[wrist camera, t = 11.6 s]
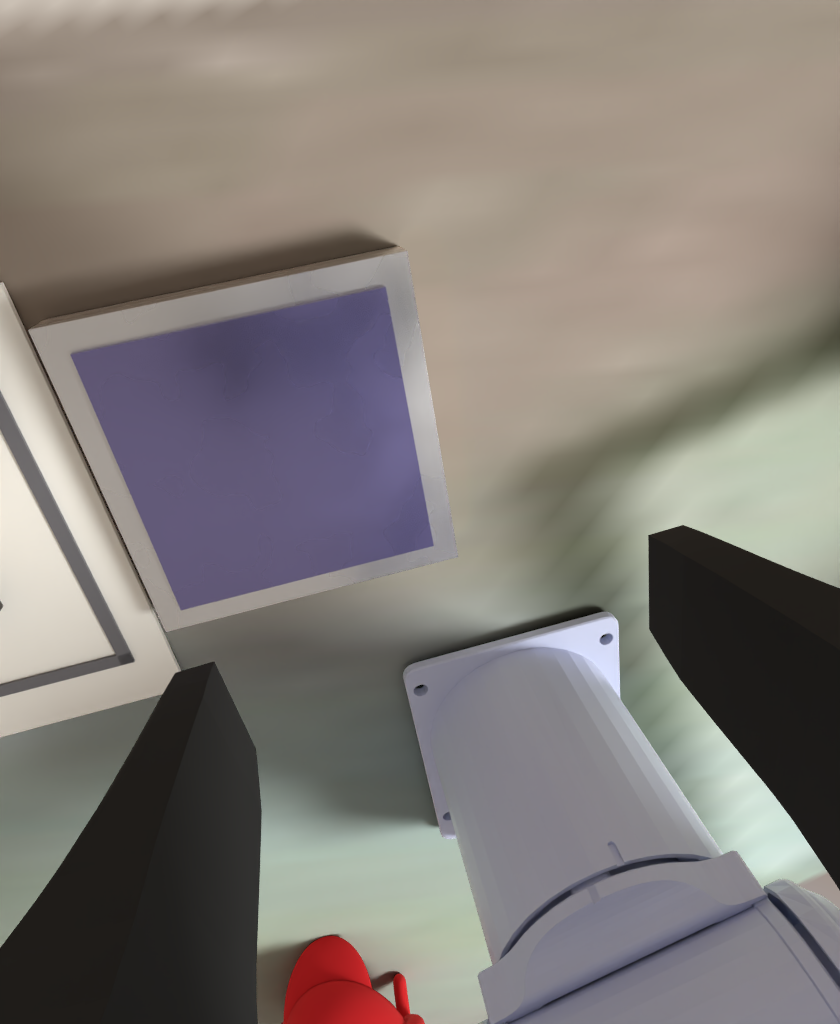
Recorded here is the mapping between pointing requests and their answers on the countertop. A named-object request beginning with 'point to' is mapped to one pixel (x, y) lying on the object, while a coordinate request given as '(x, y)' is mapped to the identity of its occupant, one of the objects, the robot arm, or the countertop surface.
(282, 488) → the ink pad
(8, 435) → the paper
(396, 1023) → the red rounded piece
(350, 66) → the countertop surface
